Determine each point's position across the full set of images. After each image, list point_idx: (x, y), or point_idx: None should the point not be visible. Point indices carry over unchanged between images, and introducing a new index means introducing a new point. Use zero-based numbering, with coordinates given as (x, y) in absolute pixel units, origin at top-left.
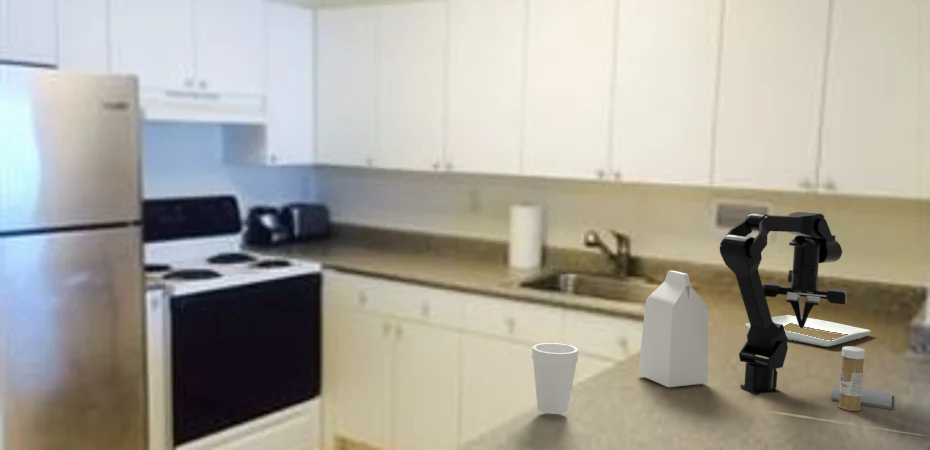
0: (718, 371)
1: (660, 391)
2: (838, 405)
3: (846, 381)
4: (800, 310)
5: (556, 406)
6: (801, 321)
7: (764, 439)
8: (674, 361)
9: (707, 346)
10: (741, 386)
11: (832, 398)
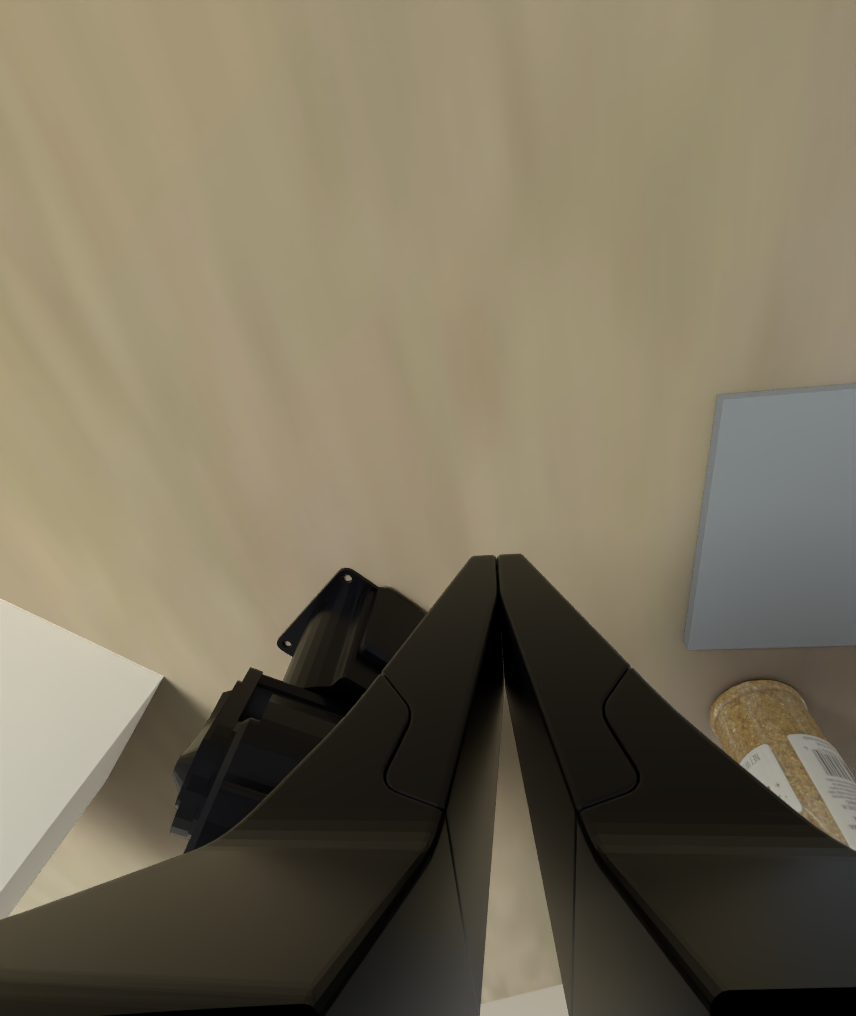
0: (73, 470)
1: (122, 823)
2: (710, 724)
3: None
4: (477, 885)
5: None
6: (501, 676)
7: (511, 985)
8: (42, 866)
9: (41, 837)
10: (288, 650)
11: (689, 646)
